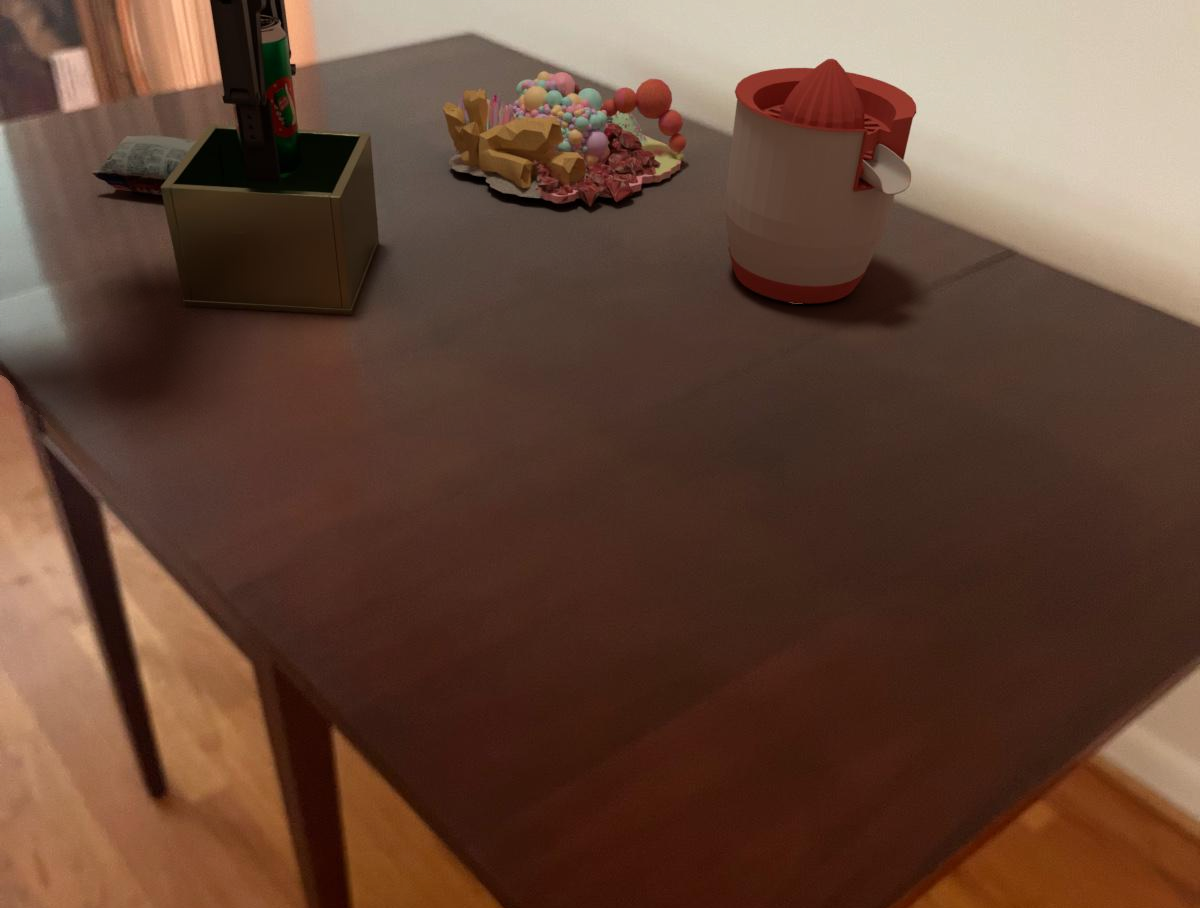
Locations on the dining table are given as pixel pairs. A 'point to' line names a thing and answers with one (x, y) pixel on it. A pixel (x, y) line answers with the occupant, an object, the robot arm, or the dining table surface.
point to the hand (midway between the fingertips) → (272, 167)
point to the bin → (274, 225)
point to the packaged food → (143, 162)
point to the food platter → (565, 139)
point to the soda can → (279, 96)
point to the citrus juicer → (813, 178)
